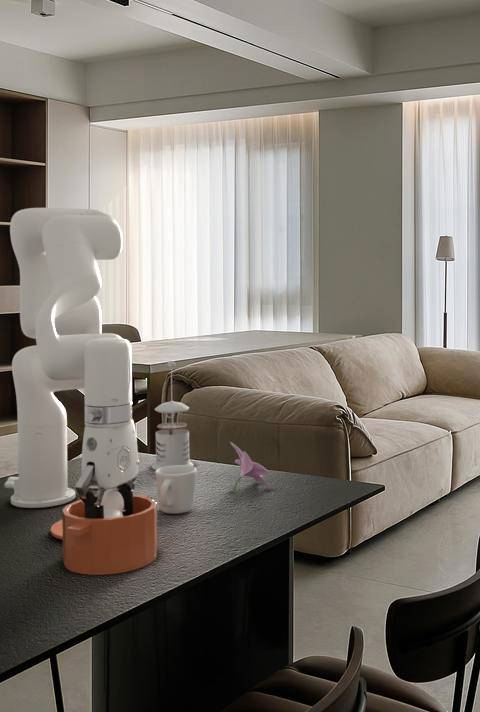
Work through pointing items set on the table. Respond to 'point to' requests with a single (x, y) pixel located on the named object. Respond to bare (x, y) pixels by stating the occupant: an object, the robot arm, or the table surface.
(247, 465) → the lily
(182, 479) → the cup
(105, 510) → the toy creature
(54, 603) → the table surface
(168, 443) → the white hanging lantern
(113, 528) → the pot
